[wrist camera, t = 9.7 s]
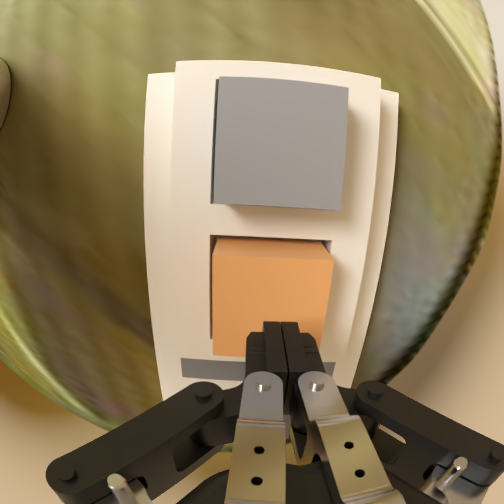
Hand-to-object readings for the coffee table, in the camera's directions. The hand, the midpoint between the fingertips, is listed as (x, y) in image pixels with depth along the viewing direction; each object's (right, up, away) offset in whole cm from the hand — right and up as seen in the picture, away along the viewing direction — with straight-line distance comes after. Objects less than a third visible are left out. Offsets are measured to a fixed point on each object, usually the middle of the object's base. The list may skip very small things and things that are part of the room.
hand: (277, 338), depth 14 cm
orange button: (0, +2, +6) cm, 6 cm away
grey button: (0, +10, +3) cm, 10 cm away
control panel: (0, +3, +8) cm, 9 cm away
